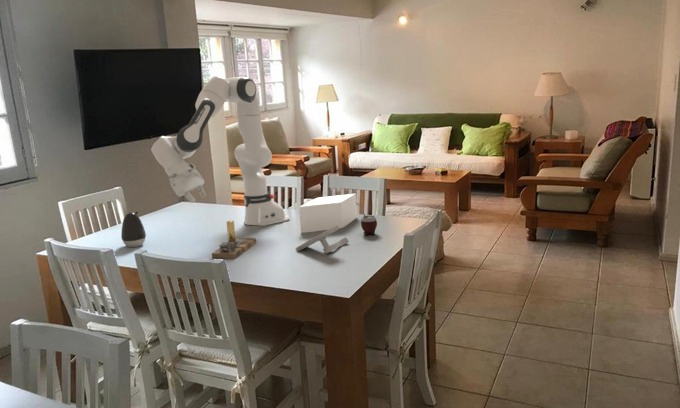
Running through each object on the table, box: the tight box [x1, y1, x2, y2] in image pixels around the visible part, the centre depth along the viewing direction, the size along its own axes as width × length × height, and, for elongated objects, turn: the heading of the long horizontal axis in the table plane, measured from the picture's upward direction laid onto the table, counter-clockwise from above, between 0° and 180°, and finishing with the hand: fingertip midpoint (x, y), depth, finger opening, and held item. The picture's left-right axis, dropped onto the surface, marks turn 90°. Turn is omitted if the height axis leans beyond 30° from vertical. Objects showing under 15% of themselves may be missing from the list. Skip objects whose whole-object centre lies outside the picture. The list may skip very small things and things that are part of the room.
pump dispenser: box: [121, 211, 147, 248], centre depth 251 cm, size 10×10×15 cm
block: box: [298, 193, 358, 234], centre depth 269 cm, size 18×35×12 cm, turn 131°
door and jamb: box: [211, 237, 257, 260], centre depth 238 cm, size 22×10×5 cm, turn 166°
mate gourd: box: [355, 201, 378, 237], centre depth 249 cm, size 8×8×15 cm
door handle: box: [295, 225, 349, 254], centre depth 233 cm, size 18×8×20 cm
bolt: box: [223, 220, 238, 251], centre depth 233 cm, size 10×3×10 cm, turn 166°
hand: (199, 199), depth 238 cm, fingers open, 8 cm apart
